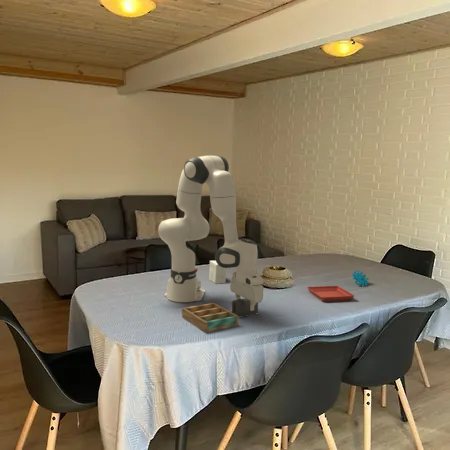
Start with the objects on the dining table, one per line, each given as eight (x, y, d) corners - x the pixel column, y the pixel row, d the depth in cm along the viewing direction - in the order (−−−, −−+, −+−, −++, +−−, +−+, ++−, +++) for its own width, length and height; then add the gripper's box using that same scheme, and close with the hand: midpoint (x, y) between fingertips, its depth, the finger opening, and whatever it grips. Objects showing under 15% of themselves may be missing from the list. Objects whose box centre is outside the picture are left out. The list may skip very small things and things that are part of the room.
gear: (356, 284, 253) (351, 269, 259) (350, 290, 257) (345, 274, 263) (373, 286, 257) (367, 270, 263) (366, 291, 261) (361, 275, 267)
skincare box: (226, 283, 252) (227, 264, 250) (215, 283, 250) (215, 264, 248) (219, 278, 262) (220, 259, 260) (208, 278, 259) (209, 260, 258)
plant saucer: (305, 292, 242) (306, 286, 242) (337, 291, 247) (337, 285, 246) (321, 303, 225) (321, 297, 224) (354, 302, 229) (355, 295, 229)
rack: (204, 332, 182) (205, 322, 182) (182, 317, 198) (182, 308, 197) (238, 325, 191) (238, 316, 190) (214, 311, 207) (214, 302, 206)
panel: (235, 318, 200) (236, 302, 199) (231, 315, 202) (232, 300, 201) (257, 313, 206) (258, 298, 205) (253, 311, 209) (254, 296, 208)
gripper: (227, 271, 208) (226, 301, 210) (254, 282, 191) (252, 315, 193) (239, 270, 211) (237, 299, 213) (266, 281, 194) (264, 312, 196)
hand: (245, 306), depth 203 cm, fingers open, 8 cm apart
